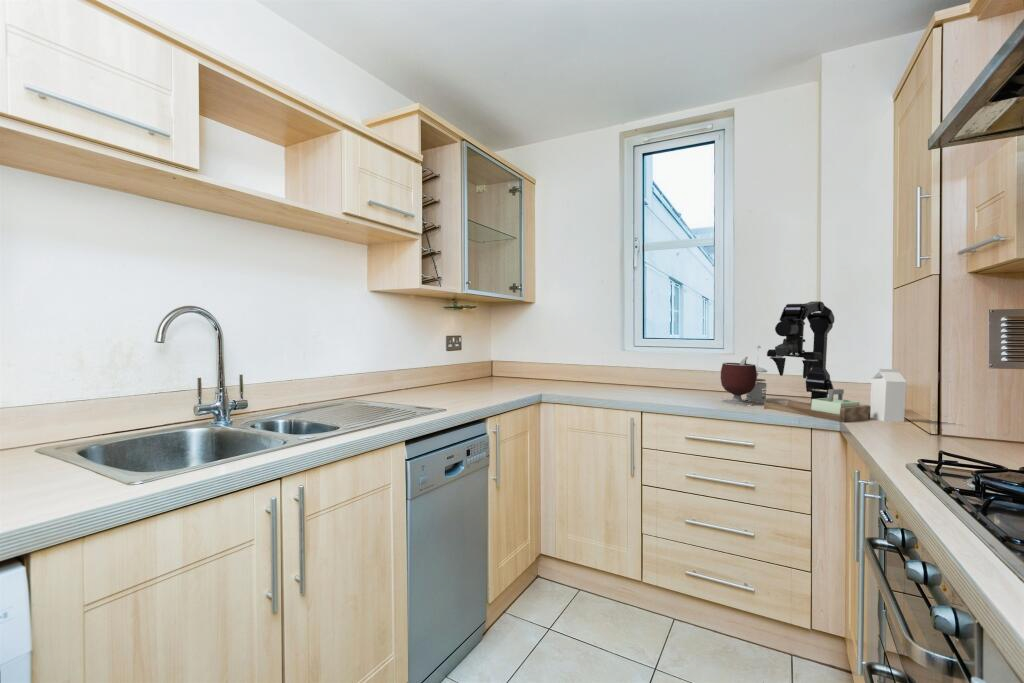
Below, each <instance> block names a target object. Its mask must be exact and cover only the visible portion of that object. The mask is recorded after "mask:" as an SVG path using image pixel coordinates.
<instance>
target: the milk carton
mask: <svg viewBox="0 0 1024 683" xmlns="http://www.w3.org/2000/svg"><path fill="white" fill-rule="evenodd" d="M906 395H907V380H906V379H905V377H904V376H903V375H902V374H901V373H900V369H897V368H895V369H894V368H892V369H890V368H879V369H878V372H877V373H876V374H875V375H874V376H873V377H872V378H871V383H870V400H869V402H870V403H869V406H871V411H870V419H873V420H878V421H880V422H881V421H882V422H891V423H892V422H894V423H896V422H897V423H898V422H899V423H900V422H901V423H905V411H906Z"/></svg>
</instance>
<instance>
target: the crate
mask: <svg viewBox="0 0 1024 683" xmlns="http://www.w3.org/2000/svg"><path fill="white" fill-rule="evenodd" d="M844 394H845V389H844V388H843V389H842V388H835V389H830V390H828V398H820V399H812V405H811V410H816V411H822V412H828V413H834V414H840V408H845V407H856V406H861V405H860V404H861V403H860V402H861V401H858V400H857V401H856V400H850V399H843V396H844ZM834 395H837V397H836V398H835V397H834Z"/></svg>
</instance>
